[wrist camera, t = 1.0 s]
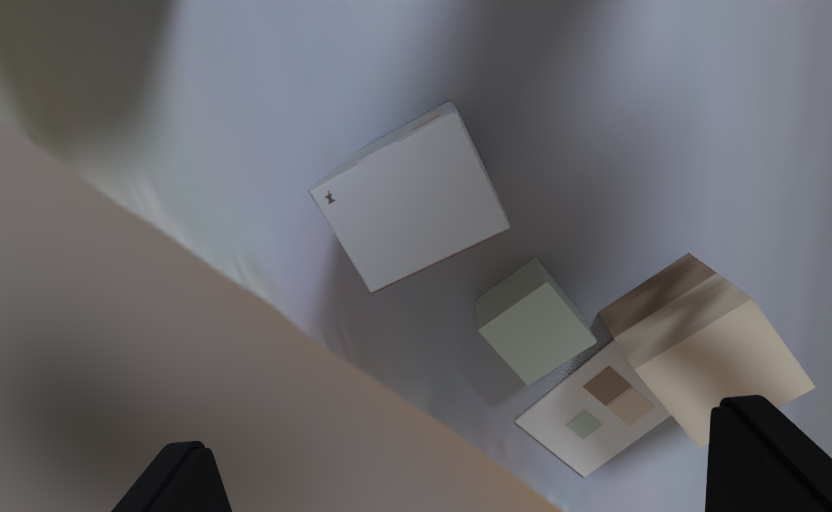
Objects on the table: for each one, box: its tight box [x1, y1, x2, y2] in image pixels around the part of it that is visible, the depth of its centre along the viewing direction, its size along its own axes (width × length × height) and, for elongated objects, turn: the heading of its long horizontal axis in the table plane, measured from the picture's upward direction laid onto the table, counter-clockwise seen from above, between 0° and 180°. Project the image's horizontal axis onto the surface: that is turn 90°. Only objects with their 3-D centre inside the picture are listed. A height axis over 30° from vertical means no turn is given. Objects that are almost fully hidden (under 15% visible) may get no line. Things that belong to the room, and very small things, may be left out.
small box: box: [308, 101, 510, 293], centre depth 28 cm, size 8×6×13 cm
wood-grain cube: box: [598, 253, 816, 449], centre depth 34 cm, size 8×8×8 cm
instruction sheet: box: [514, 339, 671, 478], centre depth 41 cm, size 12×9×1 cm
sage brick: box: [474, 257, 597, 386], centre depth 36 cm, size 6×6×5 cm
